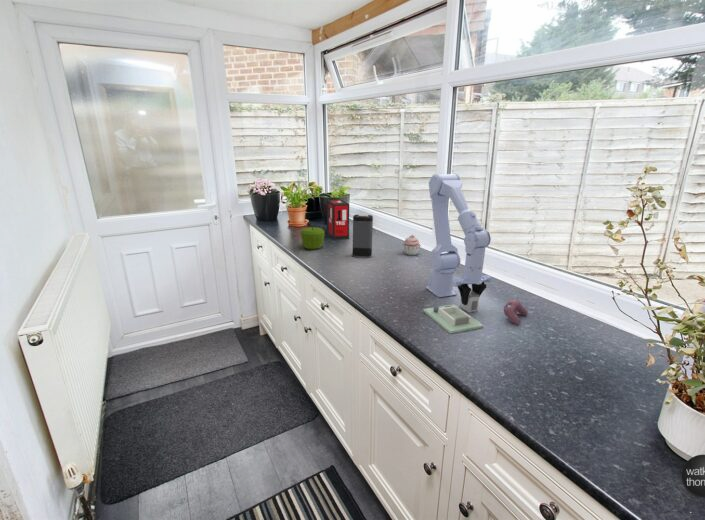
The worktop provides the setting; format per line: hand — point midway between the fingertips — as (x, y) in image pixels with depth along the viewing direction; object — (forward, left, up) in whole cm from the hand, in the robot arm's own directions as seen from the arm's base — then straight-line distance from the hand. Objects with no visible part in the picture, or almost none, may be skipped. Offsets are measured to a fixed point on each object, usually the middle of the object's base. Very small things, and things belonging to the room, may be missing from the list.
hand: (469, 303), depth 128 cm
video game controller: (+10, +10, -2) cm, 15 cm away
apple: (-87, -34, -2) cm, 93 cm away
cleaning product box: (-108, -14, -2) cm, 109 cm away
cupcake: (-63, +11, -2) cm, 64 cm away
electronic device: (-67, -14, -2) cm, 68 cm away
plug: (0, 0, -2) cm, 2 cm away
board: (+5, -10, -2) cm, 11 cm away
